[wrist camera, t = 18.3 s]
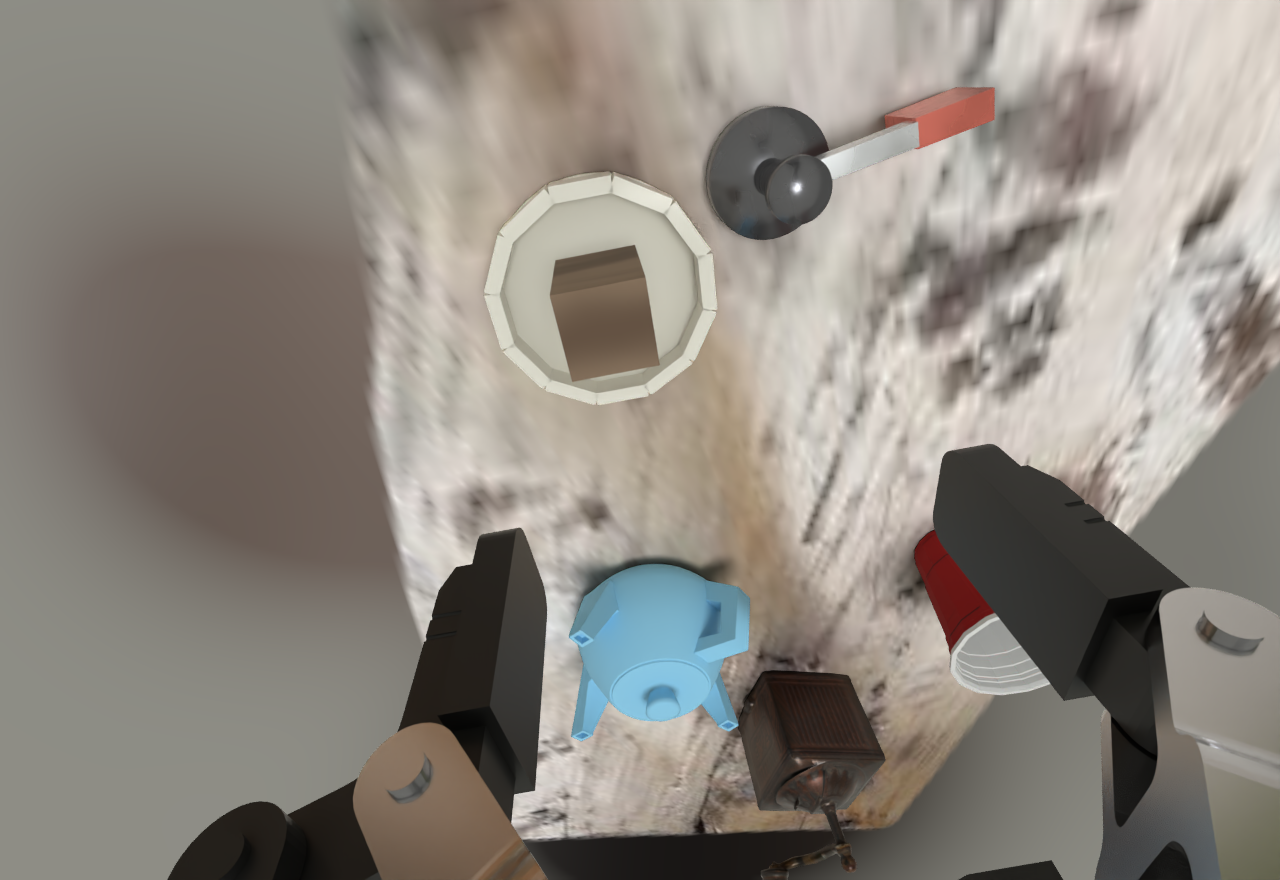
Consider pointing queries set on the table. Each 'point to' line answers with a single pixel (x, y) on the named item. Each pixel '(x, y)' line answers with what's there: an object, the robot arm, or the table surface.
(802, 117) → the base
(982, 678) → the plastic cup
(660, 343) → the dish
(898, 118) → the crank
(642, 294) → the block
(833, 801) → the coffee grinder
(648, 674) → the teapot
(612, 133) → the table surface
